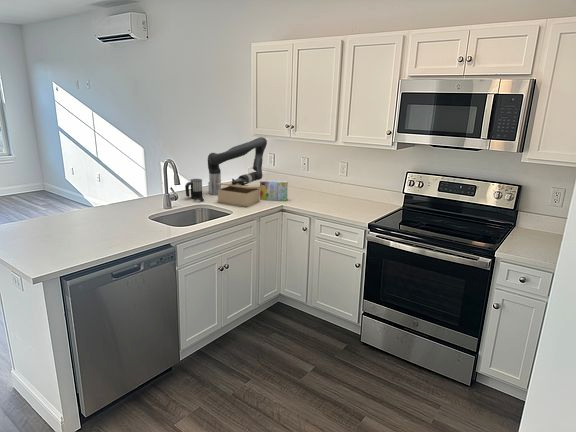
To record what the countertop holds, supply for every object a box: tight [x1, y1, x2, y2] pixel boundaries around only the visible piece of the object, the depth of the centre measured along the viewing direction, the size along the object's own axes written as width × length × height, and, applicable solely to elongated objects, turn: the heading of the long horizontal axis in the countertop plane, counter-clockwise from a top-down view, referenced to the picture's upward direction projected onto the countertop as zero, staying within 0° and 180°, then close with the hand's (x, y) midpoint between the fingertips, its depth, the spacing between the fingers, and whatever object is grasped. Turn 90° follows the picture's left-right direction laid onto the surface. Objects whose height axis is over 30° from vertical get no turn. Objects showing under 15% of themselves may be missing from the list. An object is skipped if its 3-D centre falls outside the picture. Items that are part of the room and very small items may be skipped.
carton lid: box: [217, 182, 260, 189], centre depth 294 cm, size 26×20×1 cm
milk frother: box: [184, 178, 205, 202], centre depth 300 cm, size 14×16×15 cm
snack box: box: [259, 179, 289, 202], centre depth 305 cm, size 21×6×15 cm, turn 84°
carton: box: [217, 186, 260, 208], centre depth 296 cm, size 25×19×10 cm
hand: (232, 183), depth 285 cm, fingers closed
